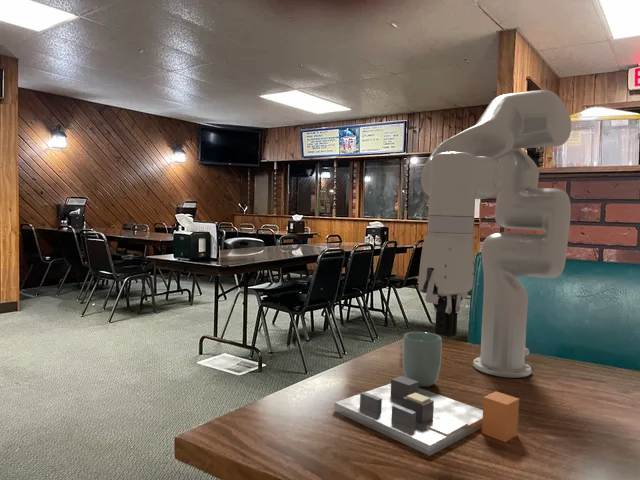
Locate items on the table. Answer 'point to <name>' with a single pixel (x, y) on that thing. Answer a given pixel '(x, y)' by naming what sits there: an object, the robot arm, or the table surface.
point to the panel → (412, 418)
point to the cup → (422, 357)
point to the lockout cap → (500, 416)
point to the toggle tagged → (419, 406)
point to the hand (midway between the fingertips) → (445, 334)
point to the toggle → (403, 387)
